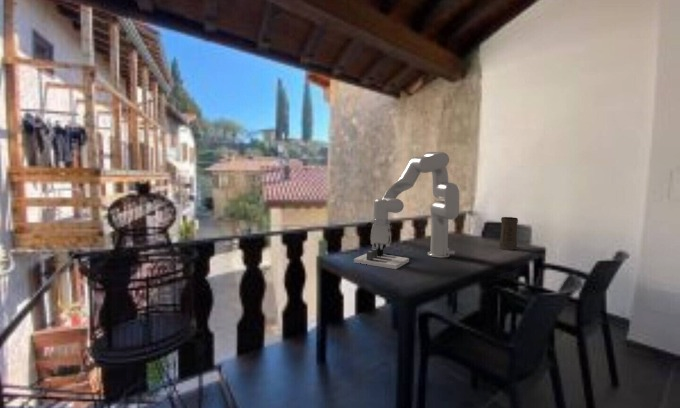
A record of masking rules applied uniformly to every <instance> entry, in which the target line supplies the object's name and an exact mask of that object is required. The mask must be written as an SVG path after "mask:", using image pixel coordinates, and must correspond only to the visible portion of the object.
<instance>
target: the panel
mask: <svg viewBox="0 0 680 408" xmlns="http://www.w3.org/2000/svg"><path fill="white" fill-rule="evenodd" d="M409 261H410V258H409V257H403V256H396V255H391V254H390V255H388V254H385V255H384V254H383V256H381V257H378V255H377V257H375V258H374V257H373V259H372V260H367V252H366V253H365V254H363V255H359V256H356V257H355V258H353V264H354V263H356V264H360V263H361V265H362V264H363V265H366V264H367V266H374V267H380V268H385V269H386V268H387V269H393V270H398V268H401V267H402V266H404V265H406V264H408V263H409Z"/></svg>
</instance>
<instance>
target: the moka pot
mask: <svg viewBox="0 0 680 408" xmlns="http://www.w3.org/2000/svg"><path fill="white" fill-rule="evenodd" d="M373 224H374V222H370V221H369V222H368V223H366V225H365V230H366V233H367V237H368V239H371V233H370V230H369V226H370V227H372V225H373ZM388 225H389V226H390V230H391V229H392V228H393V226H392V225H390V224H388ZM371 245H372V244H371ZM380 247H381V244H380ZM372 249H376V247H375V246H374V245H372V246H371V249H370V251H371V250H372ZM383 254H384V255H387V247H385V248H384V249H383Z"/></svg>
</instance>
